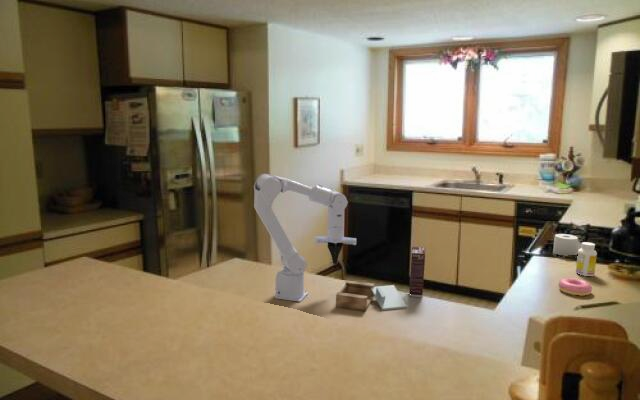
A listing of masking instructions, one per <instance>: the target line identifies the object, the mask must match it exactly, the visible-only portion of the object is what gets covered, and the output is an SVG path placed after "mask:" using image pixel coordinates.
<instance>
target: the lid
mask: <svg viewBox="0 0 640 400" xmlns="http://www.w3.org/2000/svg"><path fill="white" fill-rule="evenodd" d="M371 291H372V293H373V295H374V298H375V300H376V302H377V304H378V305H379V307H380V310H381V311H390V310H399V309H401V310H402V309H407V307H408V306H407V304H406V303H405V301H404V299H403V298H402V296H401V294H400V293H399V291H398V289H397V288H396V286H395V284H391V285H380V286H375V287H371Z"/></svg>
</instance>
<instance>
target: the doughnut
mask: <svg viewBox="0 0 640 400" xmlns="http://www.w3.org/2000/svg"><path fill="white" fill-rule="evenodd" d="M557 285H558V288H559V290H560V291H561V292H562V293H564V294H566V295H567V294H568V295H570V294H571V295H570V296H575V295H579V296H578V297H586V296H589V295H590V294H591V293H592V290H593V286H592V285H591V283H590V282H588V281H586V280H584V279H581V278H576V277H565V278H561V279H560V280H559V282H558V284H557ZM585 295H586V296H585Z"/></svg>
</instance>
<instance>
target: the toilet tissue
mask: <svg viewBox="0 0 640 400" xmlns="http://www.w3.org/2000/svg"><path fill="white" fill-rule="evenodd" d="M553 240H554V241H553V249H552V254H553V253H555V254H558V255H564V256H568V255H577V254H578V250H579V249H581V248H582V246H581V245H582V242H580V241H579V237H578V236H575V235H572V234H566V233H556V234H555V235H554V239H553Z"/></svg>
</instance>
